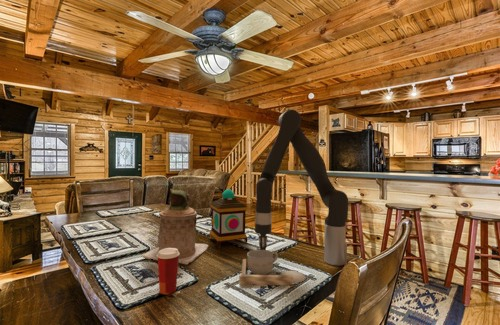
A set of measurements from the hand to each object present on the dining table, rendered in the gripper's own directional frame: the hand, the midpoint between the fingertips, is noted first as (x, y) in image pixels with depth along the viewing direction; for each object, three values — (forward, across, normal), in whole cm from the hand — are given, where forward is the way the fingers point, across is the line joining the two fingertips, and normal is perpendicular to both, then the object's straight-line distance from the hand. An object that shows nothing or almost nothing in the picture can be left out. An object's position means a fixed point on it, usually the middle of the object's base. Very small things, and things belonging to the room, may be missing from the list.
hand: (262, 259), depth 115 cm
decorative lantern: (+2, +30, +19) cm, 35 cm away
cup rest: (+1, -12, -1) cm, 12 cm away
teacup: (+1, -10, 0) cm, 10 cm away
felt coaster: (+1, -14, -12) cm, 18 cm away
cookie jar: (+2, +9, +42) cm, 43 cm away
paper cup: (+2, -26, +34) cm, 43 cm away
